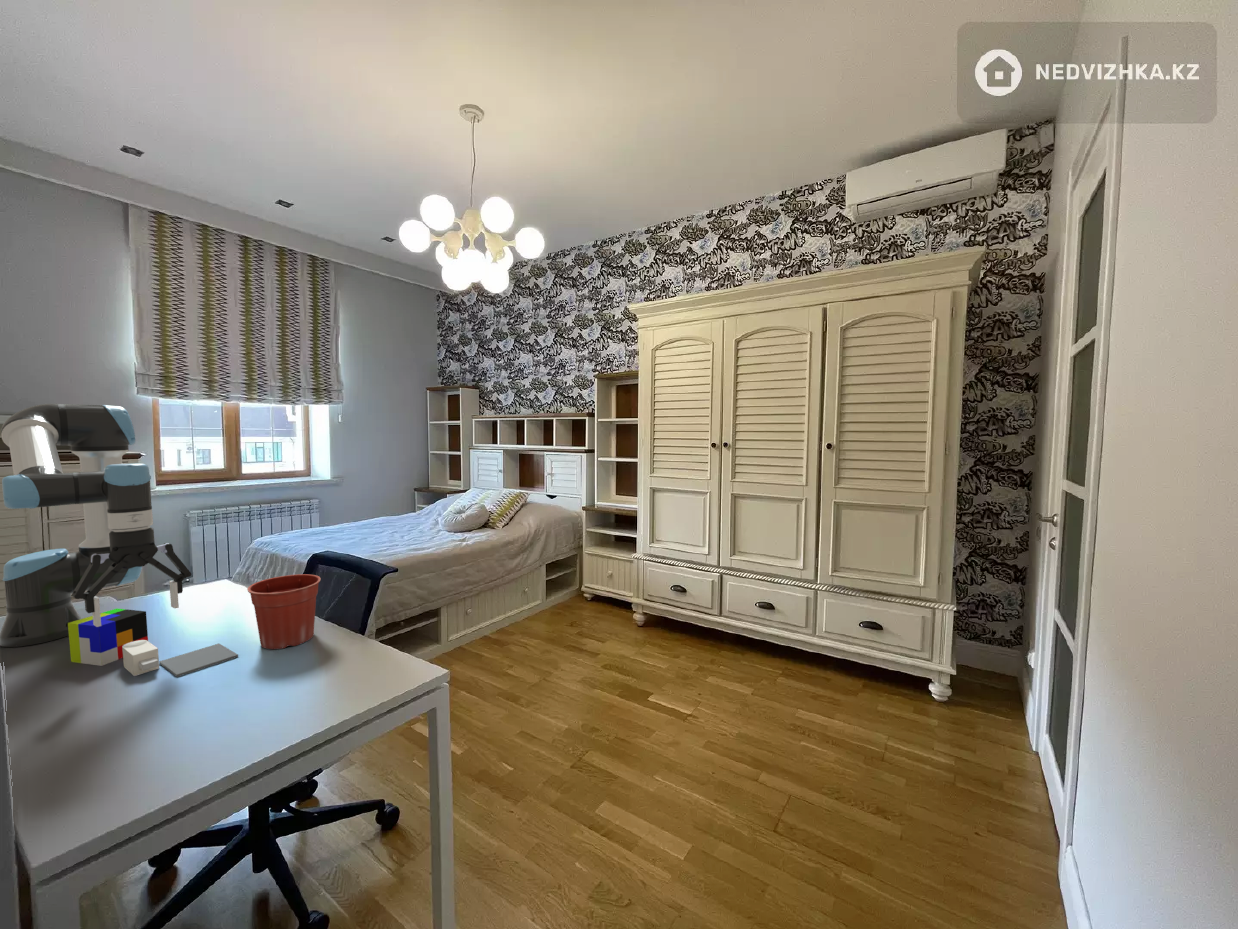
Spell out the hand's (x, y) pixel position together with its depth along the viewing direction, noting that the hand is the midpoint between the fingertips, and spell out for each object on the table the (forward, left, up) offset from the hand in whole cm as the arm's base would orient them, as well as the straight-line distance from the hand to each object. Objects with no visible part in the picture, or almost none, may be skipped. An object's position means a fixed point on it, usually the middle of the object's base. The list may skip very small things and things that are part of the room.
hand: (138, 616), depth 117 cm
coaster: (+7, +9, -13) cm, 17 cm away
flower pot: (+13, +27, -13) cm, 32 cm away
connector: (0, 0, -13) cm, 13 cm away
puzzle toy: (-16, -2, -13) cm, 21 cm away
